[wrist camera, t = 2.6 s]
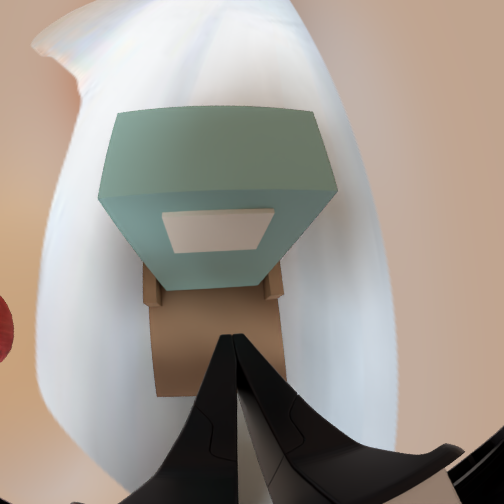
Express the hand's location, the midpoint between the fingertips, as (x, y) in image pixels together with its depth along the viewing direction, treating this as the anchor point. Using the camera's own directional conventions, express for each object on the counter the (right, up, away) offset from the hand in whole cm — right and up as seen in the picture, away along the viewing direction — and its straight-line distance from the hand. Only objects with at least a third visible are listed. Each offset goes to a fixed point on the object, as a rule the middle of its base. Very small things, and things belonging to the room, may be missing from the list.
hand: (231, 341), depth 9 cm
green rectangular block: (-2, +2, +8) cm, 9 cm away
